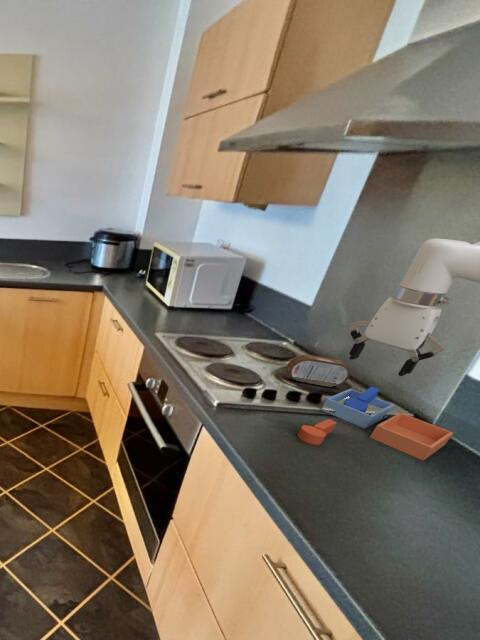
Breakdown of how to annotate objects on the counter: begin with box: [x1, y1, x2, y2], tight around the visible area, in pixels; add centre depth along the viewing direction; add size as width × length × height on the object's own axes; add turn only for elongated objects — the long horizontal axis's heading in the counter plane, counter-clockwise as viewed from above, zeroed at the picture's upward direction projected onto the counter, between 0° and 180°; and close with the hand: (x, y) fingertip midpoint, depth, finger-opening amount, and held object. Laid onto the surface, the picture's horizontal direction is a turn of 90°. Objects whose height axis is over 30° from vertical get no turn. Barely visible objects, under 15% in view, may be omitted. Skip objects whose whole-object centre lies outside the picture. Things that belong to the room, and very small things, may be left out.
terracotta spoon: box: [296, 418, 338, 446], centre depth 97 cm, size 5×11×3 cm, turn 119°
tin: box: [285, 354, 351, 386], centre depth 122 cm, size 15×3×8 cm, turn 71°
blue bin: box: [320, 388, 396, 429], centre depth 108 cm, size 10×14×4 cm
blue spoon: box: [343, 385, 380, 413], centre depth 108 cm, size 5×11×3 cm, turn 120°
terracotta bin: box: [369, 412, 454, 461], centre depth 97 cm, size 10×14×4 cm
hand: (376, 366), depth 100 cm, fingers open, 9 cm apart
